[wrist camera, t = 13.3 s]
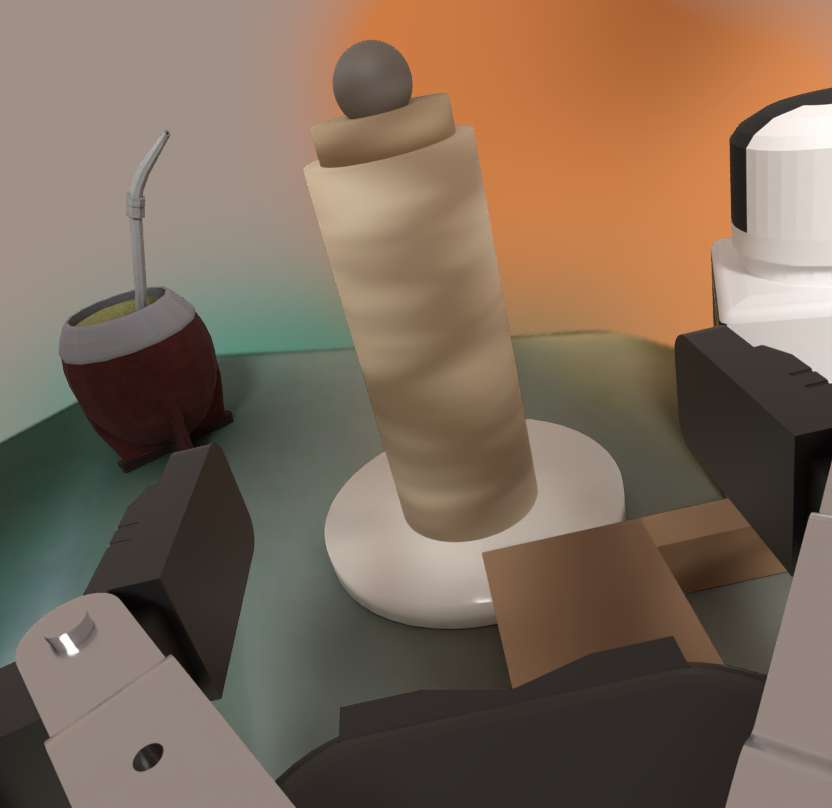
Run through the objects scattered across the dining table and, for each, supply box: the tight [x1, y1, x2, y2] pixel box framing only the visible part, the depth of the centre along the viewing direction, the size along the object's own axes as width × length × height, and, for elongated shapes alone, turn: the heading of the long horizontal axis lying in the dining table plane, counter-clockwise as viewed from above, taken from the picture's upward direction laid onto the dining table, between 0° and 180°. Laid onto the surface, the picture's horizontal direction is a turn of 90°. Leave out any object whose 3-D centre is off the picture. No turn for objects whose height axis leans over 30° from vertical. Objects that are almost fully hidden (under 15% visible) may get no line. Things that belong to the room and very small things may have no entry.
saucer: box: [325, 419, 626, 629], centre depth 26 cm, size 11×11×1 cm
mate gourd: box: [59, 130, 233, 473], centre depth 35 cm, size 8×8×15 cm
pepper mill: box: [303, 40, 538, 542], centre depth 23 cm, size 5×5×15 cm
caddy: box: [482, 498, 787, 689], centre depth 18 cm, size 13×9×2 cm
